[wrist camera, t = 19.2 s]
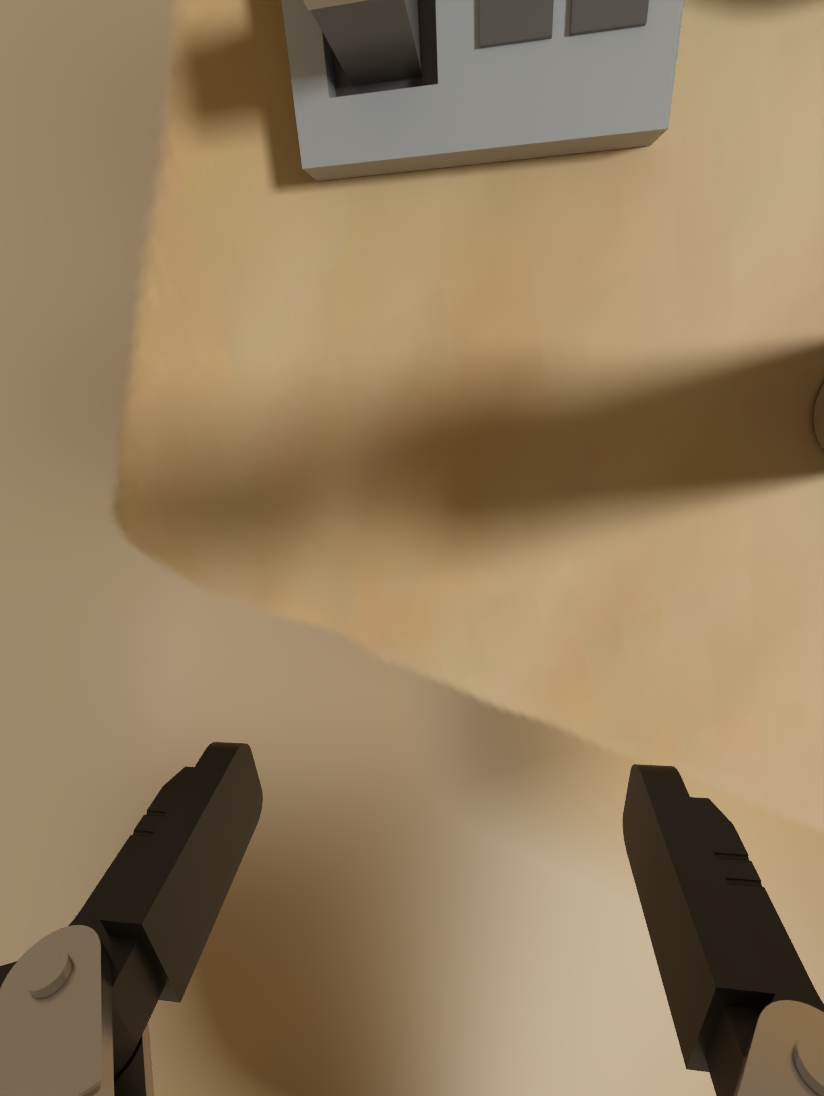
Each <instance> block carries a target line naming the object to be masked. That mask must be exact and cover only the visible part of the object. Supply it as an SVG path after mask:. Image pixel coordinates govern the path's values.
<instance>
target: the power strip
mask: <svg viewBox="0 0 824 1096" xmlns="http://www.w3.org/2000/svg"><path fill="white" fill-rule="evenodd" d="M281 4H282V12H283V20H284V28H285V36H286V44H287V52H288V60H289V68H290V76H291V84H292V92H293V100H294V108H295V116H296V123H297V131H298V139H299V147H300V155H301V163H302V169H303V170H304V171H305V172H307V173H308V174H309V175H310V176H312V177H313V178H314V179H315V180H316V181H323V180H332V179H341V178H351V177H360V176H369V175H379V174H388V173H397V172H407V171H416V170H426V169H435V168H444V167H454V166H463V165H472V164H482V163H491V162H501V161H510V160H519V159H529V158H538V157H547V156H557V155H566V154H576V153H585V152H594V151H604V150H613V149H622V148H632V147H641V146H650V145H652V144H653V143H654V142H655V141H656V140H657V139H658V138H659V137H660V136H661V135H662V134H663V133H664V132H665V131H666V130H667V129H668V126H669V118H670V109H671V101H672V93H673V85H674V77H675V69H676V61H677V52H678V44H679V36H680V28H681V20H682V12H683V4H684V0H419V16H420V37H421V58H422V77H415V78H408V79H402V80H395V81H388V82H381V83H374V84H367V85H360V86H352V84H351V82H350V80H349V79H348V77H347V75H346V73H345V71H344V70H343V68H342V66H341V64H340V62H339V61H338V59H337V57H336V55H335V53H334V52H333V50H332V48H331V46H330V44H329V43H328V41H327V39H326V37H325V35H324V34H323V32H322V30H321V28H320V27H319V25H318V23H317V21H316V19H315V18H314V16H313V14H312V12H311V10H308V8H307V7H306V5H305V3H304V1H303V0H281Z"/></svg>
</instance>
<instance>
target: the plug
mask: <svg viewBox="0 0 824 1096" xmlns="http://www.w3.org/2000/svg"><path fill="white" fill-rule="evenodd" d="M303 1H304V3H305V5H306V7H307V8H308V10H311V12H312V14H313V16H314V18H315V19H316V21H317V23H318V25H319V27H320V28H321V30H322V32H323V34H324V35H325V37H326V39H327V41H328V43H329V44H330V46H331V48H332V50H333V52H334V53H335V55H336V57H337V59H338V61H339V62H340V64H341V66H342V68H343V70H344V71H345V73H346V75H347V77H348V79H349V80H350V82H351V84H352V86H360V85H367V84H374V83H381V82H388V81H395V80H402V79H408V78H415V77H422V58H421V37H420V16H419V0H303Z"/></svg>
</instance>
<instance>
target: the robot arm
mask: <svg viewBox="0 0 824 1096" xmlns="http://www.w3.org/2000/svg"><path fill="white" fill-rule="evenodd" d="M813 421H814V431H815V434H816V437H817V439H818V442H819V444H820V445H821V446H822V448H823V449H824V384H823V385H822V387H821V389H820V392H819V395H818V397H817V400H816V403H815V409H814V415H813ZM262 800H263V796H262V789H261V785H260V781H259V777H258V774H257V770H256V767H255V762H254V759H253V755H252V752H251V749H250V746H249V745H248V744H244V743H223V742H213V743H211V744H210V745H209V746H208V747H207V748H206V750H205V751H204V753H203V755H202V756H201V758H200V759H199V761H198V763H197V764H196V766H195V767H185V768H183V769H182V770H181V771H180V772H179V773H178V774H176V775H175V776H174V777H173V778H172V779H171V780H170V781H169V782H167V783H166V784H165V785H164V786H163V787H162V788H161V790H160V791H159V793H158V794H157V796H156V798H155V799H154V801H153V802H152V804H151V805H150V807H149V808H148V810H147V814H146V815H144V816H143V817H142V819H141V820H140V822H139V823H138V825H137V826H136V828H135V829H134V833H133V835H131V836H130V837H129V838H128V840H127V841H126V843H125V844H124V846H123V847H122V849H121V850H120V852H119V853H118V855H117V857H116V858H115V860H114V861H113V862H112V864H111V865H110V867H109V868H108V870H107V872H106V873H105V875H104V876H103V877H102V879H101V880H100V882H99V883H98V885H97V886H96V888H95V889H94V891H93V892H92V894H91V896H90V897H89V898H88V900H87V901H86V903H85V905H84V906H83V908H82V909H81V911H80V912H79V913H78V915H77V916H76V918H75V919H74V920H73V921H72V922H71V924H70V925H69V926H68V927H64V928H61V929H59V930H57V931H55V932H52V933H51V934H49V935H47V936H45V937H44V938H43V939H41V940H40V941H38V942H37V943H36V944H34V945H33V946H32V947H31V948H30V949H29V950H28V951H27V952H26V953H25V954H24V955H23V956H22V957H21V958H20V959H19V960H18V961H16V962H13V963H10V964H6V965H3V966H0V1096H154V1087H153V1075H152V1061H151V1049H150V1036H149V1028H148V1024H147V1023H148V1021H149V1019H150V1017H151V1014H152V1012H153V1010H154V1008H155V1006H156V1004H157V1002H158V1000H165V1001H173V1002H181V1000H182V997H183V995H184V993H185V990H186V988H187V986H188V983H189V981H190V979H191V977H192V974H193V972H194V969H195V967H196V965H197V963H198V960H199V958H200V955H201V953H202V951H203V948H204V946H205V944H206V942H207V939H208V937H209V935H210V932H211V930H212V928H213V925H214V923H215V920H216V918H217V916H218V914H219V912H220V909H221V907H222V905H223V902H224V900H225V898H226V895H227V893H228V891H229V888H230V886H231V884H232V881H233V879H234V877H235V874H236V872H237V870H238V867H239V865H240V863H241V860H242V858H243V856H244V853H245V851H246V849H247V846H248V844H249V842H250V839H251V837H252V835H253V833H254V830H255V828H256V825H257V823H258V821H259V817H260V814H261V809H262ZM623 834H624V841H625V846H626V851H627V855H628V858H629V862H630V865H631V869H632V873H633V876H634V880H635V883H636V887H637V891H638V895H639V898H640V902H641V905H642V909H643V913H644V916H645V920H646V924H647V927H648V931H649V935H650V938H651V942H652V946H653V949H654V953H655V956H656V960H657V964H658V967H659V971H660V975H661V978H662V982H663V986H664V989H665V992H666V996H667V1000H668V1003H669V1007H670V1011H671V1015H672V1018H673V1022H674V1025H675V1029H676V1033H677V1036H678V1040H679V1044H680V1047H681V1051H682V1054H683V1058H684V1062H685V1066H686V1069H690V1070H697V1071H705V1072H710V1075H711V1079H712V1082H713V1085H714V1089H715V1092H716V1095H717V1096H824V1004H823V1003H822V1001H821V999H820V997H819V996H818V994H817V992H816V990H815V988H814V986H813V985H812V982H811V981H810V978H809V976H808V974H807V972H806V970H805V968H804V966H803V964H802V962H801V960H800V958H799V956H798V954H797V952H796V950H795V948H794V946H793V944H792V942H791V940H790V938H789V936H788V934H787V932H786V930H785V928H784V926H783V924H782V922H781V920H780V918H779V916H778V914H777V912H776V910H775V908H774V906H773V904H772V902H771V900H770V898H769V896H768V894H767V892H766V890H765V888H764V887H762V885H761V880H760V878H759V876H758V874H757V872H756V870H755V868H754V866H753V864H752V862H751V861H749V858H748V853H747V851H746V849H745V847H744V845H743V843H742V841H741V839H740V837H739V835H738V833H737V831H736V830H735V827H734V825H733V824H732V823H731V822H730V821H729V820H728V819H727V818H726V816H725V815H724V814H723V813H722V812H721V811H720V810H719V809H718V808H717V807H716V806H715V805H714V804H713V803H712V802H711V800H710V799H708V798H693V797H690V796H689V794H688V792H687V790H686V787H685V785H684V782H683V780H682V778H681V776H680V774H679V772H678V770H677V769H676V768H675V767H673V766H656V765H636V764H634V765H633V766H632V768H631V772H630V778H629V783H628V789H627V795H626V801H625V806H624V812H623Z"/></svg>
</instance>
